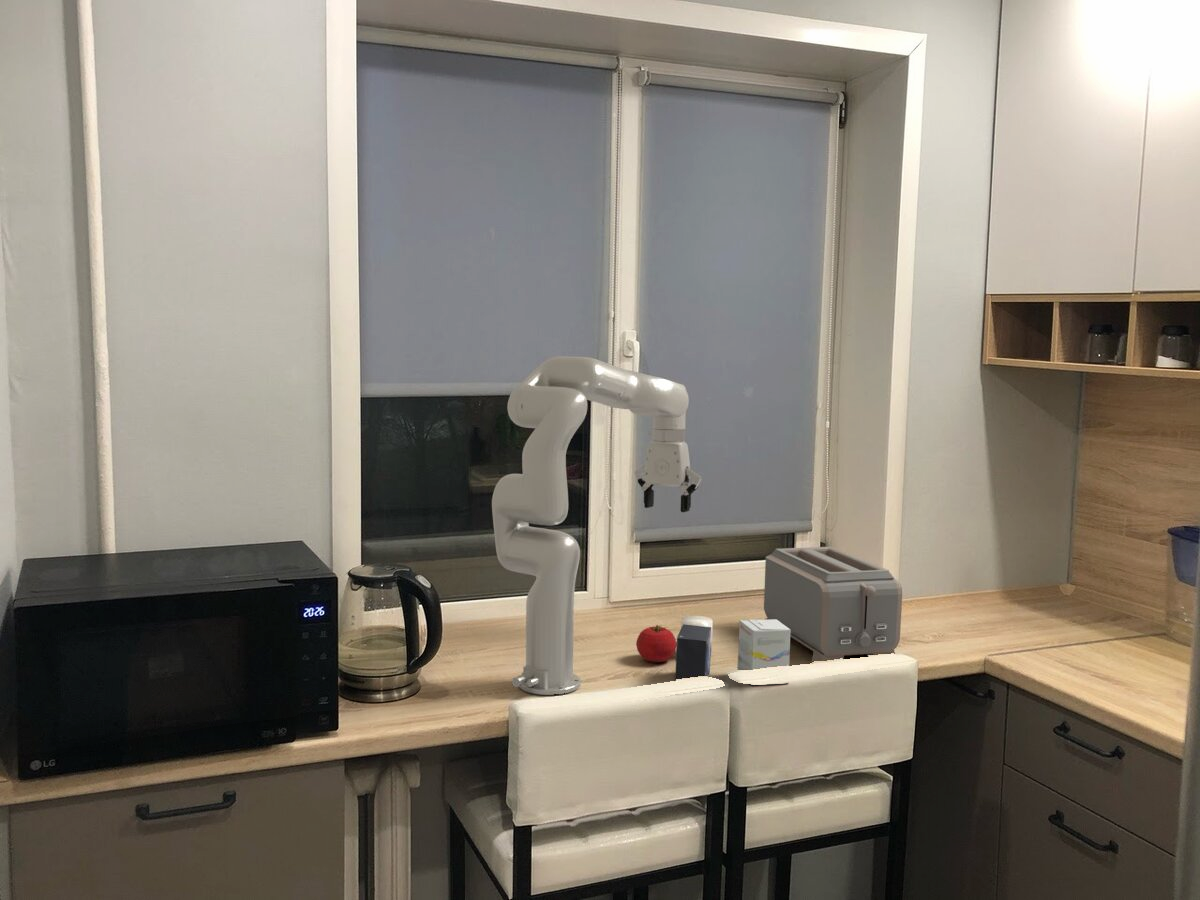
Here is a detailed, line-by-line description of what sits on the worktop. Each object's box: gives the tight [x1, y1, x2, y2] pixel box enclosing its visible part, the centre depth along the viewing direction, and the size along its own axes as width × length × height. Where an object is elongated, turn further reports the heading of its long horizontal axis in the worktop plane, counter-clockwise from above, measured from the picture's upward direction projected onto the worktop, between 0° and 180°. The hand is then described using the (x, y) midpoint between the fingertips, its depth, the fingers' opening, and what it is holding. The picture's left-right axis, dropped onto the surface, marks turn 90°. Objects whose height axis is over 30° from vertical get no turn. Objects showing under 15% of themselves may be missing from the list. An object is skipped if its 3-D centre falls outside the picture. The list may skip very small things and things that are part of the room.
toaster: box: [763, 546, 903, 663], centre depth 233 cm, size 19×35×20 cm, turn 15°
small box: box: [674, 624, 712, 681], centre depth 208 cm, size 11×6×10 cm, turn 168°
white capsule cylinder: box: [680, 615, 714, 657], centre depth 226 cm, size 7×7×8 cm
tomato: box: [635, 624, 677, 663], centre depth 221 cm, size 9×9×8 cm
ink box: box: [736, 619, 791, 670], centre depth 210 cm, size 9×9×12 cm
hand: (666, 509), depth 237 cm, fingers open, 9 cm apart
